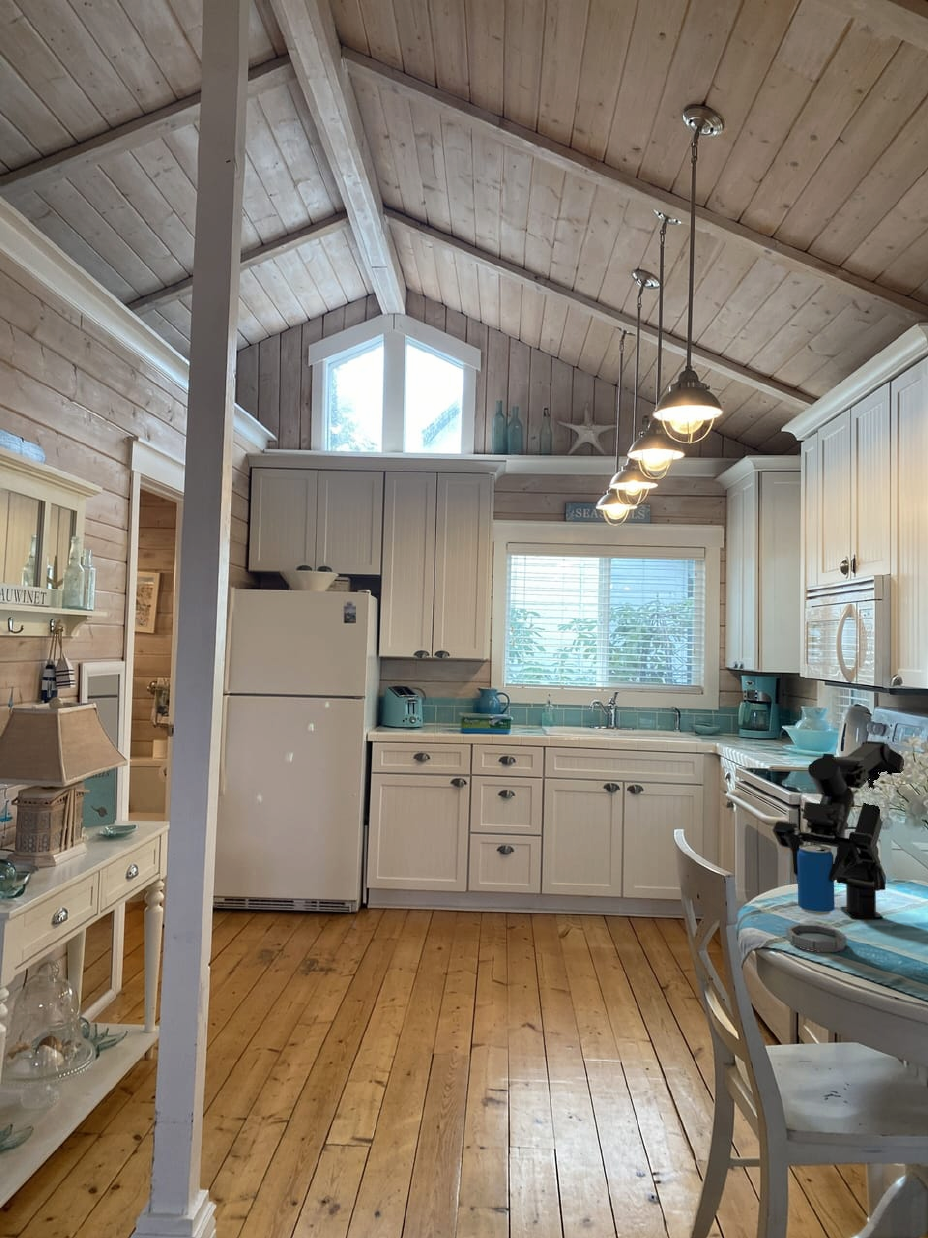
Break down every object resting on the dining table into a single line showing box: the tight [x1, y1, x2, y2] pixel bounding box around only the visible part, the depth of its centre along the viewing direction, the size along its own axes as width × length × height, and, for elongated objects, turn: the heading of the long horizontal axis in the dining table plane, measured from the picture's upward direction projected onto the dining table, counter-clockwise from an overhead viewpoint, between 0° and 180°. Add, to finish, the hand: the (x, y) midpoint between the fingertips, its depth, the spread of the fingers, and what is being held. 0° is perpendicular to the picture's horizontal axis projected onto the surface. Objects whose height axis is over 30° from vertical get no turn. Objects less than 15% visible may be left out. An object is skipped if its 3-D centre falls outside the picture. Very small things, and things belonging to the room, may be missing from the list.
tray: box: [785, 923, 847, 953], centre depth 161 cm, size 10×10×2 cm
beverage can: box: [797, 844, 836, 916], centre depth 161 cm, size 6×6×12 cm
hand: (812, 877), depth 160 cm, fingers closed on beverage can, 6 cm apart
